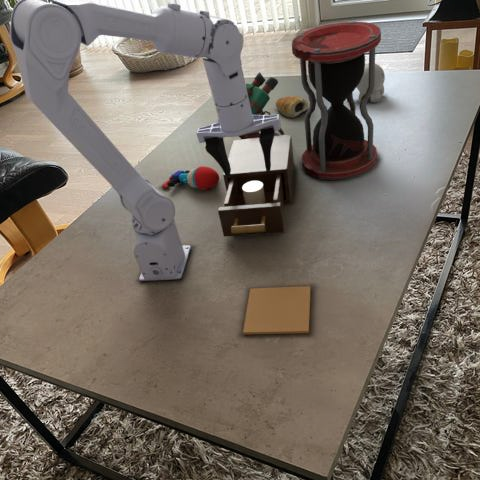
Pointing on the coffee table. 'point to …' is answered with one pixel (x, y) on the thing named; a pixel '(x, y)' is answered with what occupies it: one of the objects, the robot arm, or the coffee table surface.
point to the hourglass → (337, 97)
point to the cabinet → (262, 161)
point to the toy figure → (195, 178)
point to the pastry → (291, 106)
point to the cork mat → (278, 310)
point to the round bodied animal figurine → (377, 86)
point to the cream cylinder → (253, 193)
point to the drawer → (253, 207)
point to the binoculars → (259, 100)
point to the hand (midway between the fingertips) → (248, 170)
